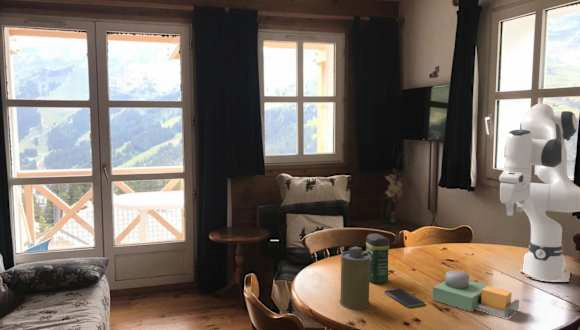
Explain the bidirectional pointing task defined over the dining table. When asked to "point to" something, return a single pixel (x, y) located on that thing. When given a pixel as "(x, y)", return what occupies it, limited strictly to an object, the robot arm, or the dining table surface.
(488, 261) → the dining table surface
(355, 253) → the canister
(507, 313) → the open gray drawer
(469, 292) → the green block with dome
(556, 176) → the robot arm
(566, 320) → the dining table surface
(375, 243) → the coffee jar
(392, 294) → the phone
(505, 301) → the orange block
